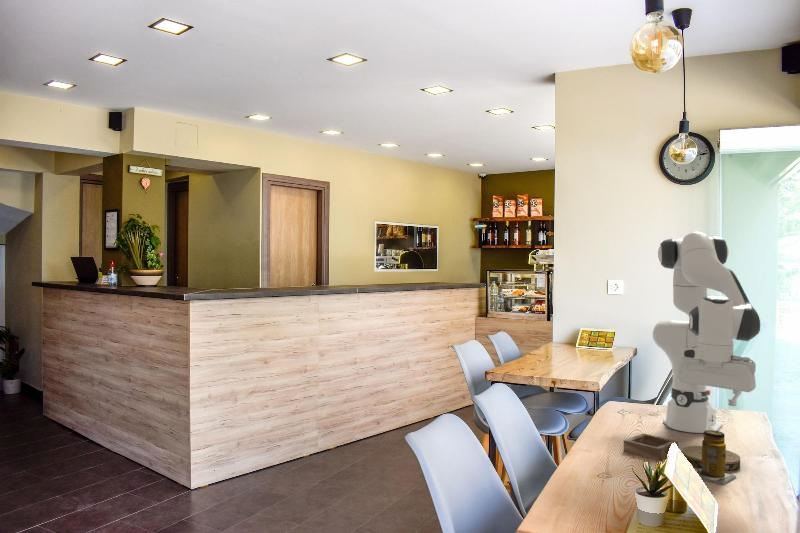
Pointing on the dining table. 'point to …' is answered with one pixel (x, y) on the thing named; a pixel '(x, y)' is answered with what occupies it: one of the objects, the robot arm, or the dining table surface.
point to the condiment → (713, 456)
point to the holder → (648, 446)
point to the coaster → (720, 481)
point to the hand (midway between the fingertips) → (714, 402)
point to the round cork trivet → (695, 458)
